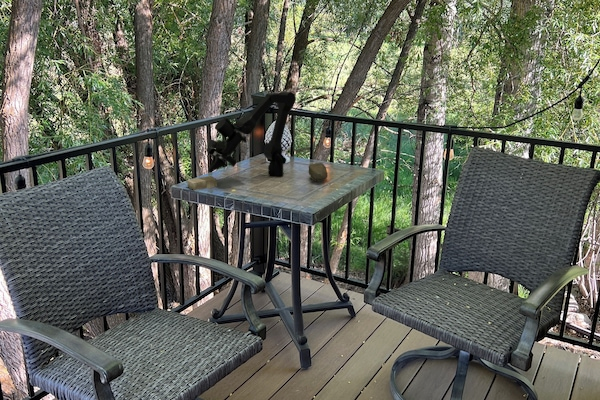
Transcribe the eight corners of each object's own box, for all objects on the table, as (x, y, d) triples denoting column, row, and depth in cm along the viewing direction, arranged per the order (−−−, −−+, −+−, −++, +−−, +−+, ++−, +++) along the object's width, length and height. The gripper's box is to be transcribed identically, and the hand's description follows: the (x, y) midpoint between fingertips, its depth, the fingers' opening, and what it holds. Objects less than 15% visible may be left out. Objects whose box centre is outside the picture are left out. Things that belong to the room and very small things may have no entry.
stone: (306, 175, 275) (306, 158, 272) (324, 175, 275) (325, 158, 273) (310, 185, 259) (310, 168, 256) (330, 185, 259) (330, 167, 257)
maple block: (210, 175, 258) (187, 180, 252) (216, 178, 253) (193, 183, 247) (210, 183, 259) (187, 187, 253) (216, 186, 254) (193, 191, 248)
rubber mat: (231, 178, 269) (230, 177, 269) (245, 185, 258) (245, 184, 258) (205, 182, 262) (205, 181, 262) (219, 189, 251) (219, 188, 251)
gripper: (209, 129, 259) (187, 156, 256) (229, 136, 244) (206, 165, 241) (225, 144, 265) (204, 171, 263) (245, 152, 251) (223, 180, 248)
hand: (209, 171), depth 253 cm, fingers closed
